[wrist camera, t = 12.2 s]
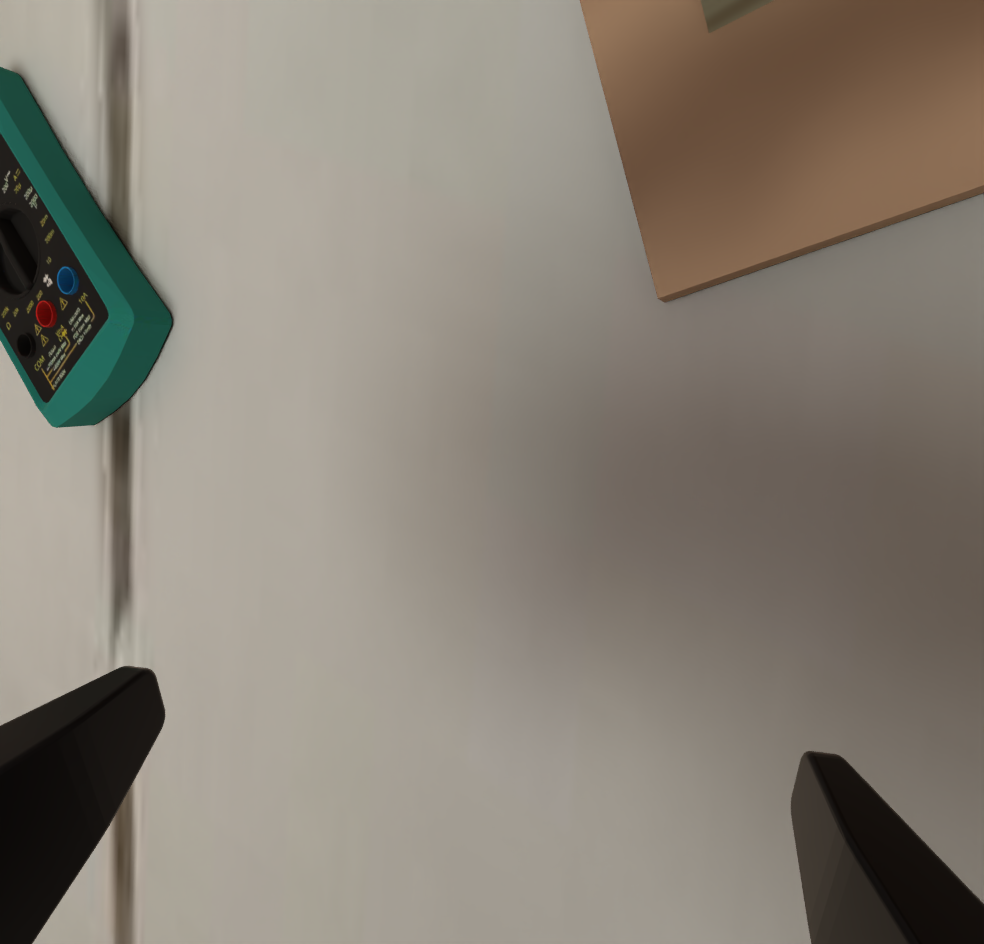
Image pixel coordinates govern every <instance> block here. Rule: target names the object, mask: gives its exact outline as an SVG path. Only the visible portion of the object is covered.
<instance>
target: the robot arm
mask: <svg viewBox="0 0 984 944" xmlns="http://www.w3.org/2000/svg"><path fill="white" fill-rule="evenodd" d="M164 720H165V708H164V704H163V700H162V697H161V693H160V689H159V686H158V682H157V678H156V675H155V673H154V672H153V671H152V670H150V669H148V668H141V667H133V666H124V667H120V668H118V669H116V670H114V671H112V672H110V673H108V674H106V675H104V676H102V677H100V678H97V679H95V680H93V681H91V682H89V683H87V684H85V685H83V686H81V687H79V688H77V689H75V690H73V691H71V692H69V693H67V694H65V695H63V696H61V697H58V698H56V699H54V700H52V701H50V702H48V703H46V704H44V705H42V706H40V707H38V708H36V709H34V710H32V711H30V712H28V713H26V714H24V715H21V716H19V717H17V718H15V719H13V720H11V721H9V722H7V723H5V724H3V725H1V726H0V944H32V943H33V942H34V940H35V939H36V937H37V936H38V934H39V933H40V931H41V930H42V928H43V927H44V925H45V924H46V922H47V920H48V919H49V917H50V916H51V914H52V913H53V911H54V910H55V908H56V907H57V905H58V904H59V902H60V901H61V899H62V898H63V896H64V895H65V893H66V892H67V890H68V889H69V887H70V886H71V884H72V882H73V881H74V879H75V878H76V876H77V875H78V873H79V872H80V870H81V869H82V867H83V866H84V864H85V863H86V861H87V860H88V858H89V857H90V855H91V854H92V852H93V851H94V849H95V848H96V846H97V844H98V843H99V841H100V840H101V838H102V836H103V835H104V833H105V832H106V830H107V828H108V827H109V825H110V823H111V821H112V820H113V818H114V816H115V814H116V813H117V811H118V809H119V807H120V805H121V804H122V802H123V800H124V798H125V796H126V794H127V792H128V791H129V789H130V787H131V785H132V783H133V781H134V779H135V778H136V776H137V774H138V772H139V770H140V768H141V767H142V765H143V763H144V761H145V759H146V757H147V755H148V754H149V752H150V750H151V748H152V746H153V744H154V742H155V741H156V739H157V737H158V735H159V733H160V731H161V729H162V727H163V724H164ZM791 817H792V824H793V830H794V837H795V843H796V849H797V856H798V862H799V869H800V875H801V881H802V888H803V894H804V901H805V907H806V914H807V920H808V926H809V932H810V938H811V944H984V904H983V903H982V902H981V901H980V900H979V898H978V897H977V896H976V895H975V894H974V893H973V892H972V891H971V890H970V889H969V888H968V887H967V886H966V885H965V884H964V883H963V882H962V881H961V880H960V879H959V878H958V877H957V876H956V875H955V874H954V872H953V871H952V870H951V869H950V868H949V867H948V866H947V865H946V864H945V863H944V862H943V861H942V860H941V859H940V858H939V857H938V856H937V855H936V854H935V853H934V852H933V851H932V850H931V849H930V848H929V846H928V845H927V844H926V843H925V842H924V841H923V840H922V839H921V838H920V837H919V836H918V835H917V834H916V833H915V832H914V831H913V830H912V829H911V828H910V827H909V826H908V825H907V824H906V823H905V821H904V820H903V819H902V818H901V817H900V816H899V815H898V814H897V813H896V812H895V811H894V810H893V809H892V808H891V807H890V806H889V805H888V804H887V803H886V802H885V801H884V800H883V799H882V798H881V797H880V795H879V794H878V793H877V792H876V791H875V790H874V789H873V788H872V787H871V786H870V785H869V784H868V783H867V782H866V781H865V780H864V779H863V778H862V777H861V776H860V775H859V774H858V773H857V772H856V771H855V769H854V768H853V767H852V766H851V765H850V764H849V763H848V762H847V761H846V760H845V759H844V758H842V757H841V756H839V755H836V754H830V753H822V752H814V751H808V752H805V753H804V754H803V756H802V757H801V760H800V765H799V769H798V773H797V777H796V781H795V785H794V789H793V793H792V798H791Z"/></svg>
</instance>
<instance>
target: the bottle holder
mask: <svg viewBox="0 0 984 944" xmlns="http://www.w3.org/2000/svg"><path fill="white" fill-rule="evenodd" d="M580 3H581V7H582V11H583V15H584V18H585V22H586V26H587V30H588V34H589V38H590V41H591V45H592V49H593V53H594V57H595V60H596V64H597V68H598V72H599V76H600V79H601V83H602V87H603V91H604V95H605V99H606V102H607V106H608V110H609V114H610V118H611V121H612V125H613V129H614V133H615V137H616V141H617V144H618V148H619V152H620V156H621V160H622V163H623V167H624V171H625V175H626V179H627V182H628V186H629V190H630V194H631V198H632V202H633V205H634V209H635V213H636V217H637V221H638V224H639V228H640V232H641V236H642V240H643V243H644V247H645V251H646V255H647V259H648V263H649V266H650V270H651V274H652V278H653V282H654V285H655V289H656V293H657V297H658V299H660V300H661V301H663V302H667V301H670V300H673V299H676V298H679V297H682V296H685V295H688V294H691V293H694V292H696V291H699V290H702V289H705V288H708V287H711V286H714V285H717V284H720V283H723V282H726V281H728V280H731V279H734V278H737V277H740V276H743V275H746V274H749V273H752V272H755V271H758V270H760V269H763V268H766V267H769V266H772V265H775V264H778V263H781V262H784V261H787V260H790V259H792V258H795V257H798V256H801V255H804V254H807V253H810V252H813V251H816V250H819V249H822V248H825V247H827V246H830V245H833V244H836V243H839V242H842V241H845V240H848V239H851V238H854V237H857V236H859V235H862V234H865V233H868V232H871V231H874V230H877V229H880V228H883V227H886V226H889V225H891V224H894V223H897V222H900V221H903V220H906V219H909V218H912V217H915V216H918V215H921V214H923V213H926V212H929V211H932V210H935V209H938V208H941V207H944V206H947V205H950V204H953V203H955V202H958V201H961V200H964V199H967V198H970V197H973V196H976V195H979V194H982V193H984V0H580Z"/></svg>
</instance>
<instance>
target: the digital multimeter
mask: <svg viewBox="0 0 984 944" xmlns="http://www.w3.org/2000/svg"><path fill="white" fill-rule="evenodd" d="M4 203H5V204H4ZM23 296H24V297H23ZM171 326H172V319H171V316H170V313H169V311H168V310H167V309H166V307H165V306H164V304H163V303H162V301H161V300H160V298H159V297H158V296H157V294H156V293H155V291H154V290H153V289H152V287H151V286H150V284H149V283H148V282H147V280H146V279H145V277H144V276H143V274H142V273H141V272H140V270H139V269H138V267H137V266H136V264H135V263H134V261H133V260H132V258H131V256H130V255H129V253H128V252H127V250H126V249H125V247H124V246H123V244H122V243H121V241H120V240H119V238H118V237H117V235H116V234H115V232H114V231H113V229H112V228H111V226H110V225H109V223H108V222H107V220H106V219H105V217H104V216H103V214H102V213H101V211H100V210H99V208H98V206H97V205H96V203H95V202H94V200H93V198H92V197H91V195H90V193H89V192H88V190H87V188H86V187H85V185H84V183H83V182H82V180H81V179H80V177H79V175H78V174H77V172H76V170H75V169H74V167H73V166H72V164H71V162H70V161H69V159H68V158H67V156H66V154H65V153H64V151H63V149H62V148H61V146H60V144H59V142H58V141H57V139H56V137H55V135H54V134H53V132H52V130H51V128H50V126H49V125H48V123H47V121H46V119H45V118H44V116H43V114H42V112H41V111H40V109H39V107H38V105H37V103H36V102H35V100H34V98H33V97H32V95H31V93H30V92H29V90H28V88H27V87H26V85H25V83H24V82H23V80H22V78H21V77H20V76H19V75H18V74H17V73H15V72H12V71H9V70H7V69H4V68H2V67H0V340H1V342H2V344H3V346H4V348H5V349H6V351H7V353H8V355H9V357H10V358H11V360H12V362H13V364H14V366H15V367H16V369H17V371H18V373H19V375H20V377H21V378H22V380H23V382H24V384H25V386H26V387H27V389H28V391H29V393H30V395H31V397H32V398H33V400H34V402H35V404H36V406H37V407H38V409H39V410H40V411H41V413H42V414H43V415H44V417H45V418H46V419H47V421H48V422H49V423H50V424H51V425H52V427H56V428H58V427H72V426H86V425H95V424H97V423H98V422H100V421H101V420H103V419H104V418H105V417H107V416H108V415H110V414H111V413H113V412H114V411H115V410H117V409H118V408H119V407H120V406H121V405H122V404H123V403H125V402H126V401H127V400H128V399H129V398H130V397H131V396H132V395H133V394H134V392H135V391H136V390H137V389H138V387H139V386H140V385H141V383H142V382H143V381H144V380H145V378H146V376H147V374H148V373H149V371H150V369H151V367H152V365H153V364H154V362H155V360H156V358H157V356H158V354H159V352H160V350H161V348H162V345H163V343H164V341H165V339H166V337H167V335H168V332H169V330H170V328H171Z"/></svg>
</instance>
